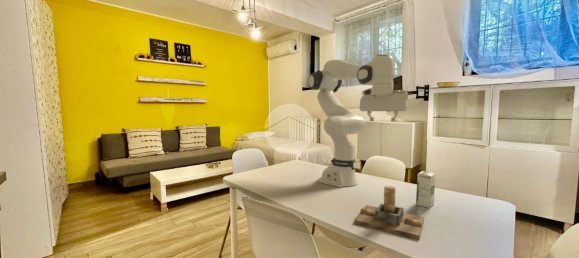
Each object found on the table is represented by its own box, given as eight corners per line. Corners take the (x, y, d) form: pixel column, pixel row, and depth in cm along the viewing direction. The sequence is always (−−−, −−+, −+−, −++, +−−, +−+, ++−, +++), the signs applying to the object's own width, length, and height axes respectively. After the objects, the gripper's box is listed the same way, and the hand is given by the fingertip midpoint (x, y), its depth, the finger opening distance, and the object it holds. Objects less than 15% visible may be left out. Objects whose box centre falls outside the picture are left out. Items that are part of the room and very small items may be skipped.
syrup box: (420, 201, 113) (421, 170, 112) (434, 204, 109) (435, 172, 108) (415, 205, 109) (416, 173, 108) (430, 208, 105) (431, 175, 104)
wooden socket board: (354, 223, 93) (354, 210, 93) (366, 208, 107) (366, 197, 106) (419, 239, 81) (419, 225, 81) (423, 220, 95) (424, 208, 94)
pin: (382, 218, 93) (383, 188, 92) (384, 215, 97) (385, 185, 95) (393, 221, 91) (394, 190, 90) (395, 217, 94) (396, 187, 93)
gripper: (409, 90, 108) (408, 121, 109) (362, 92, 119) (362, 120, 120) (407, 89, 103) (406, 122, 104) (358, 91, 114) (358, 121, 115)
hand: (382, 121), depth 112 cm, fingers open, 8 cm apart
